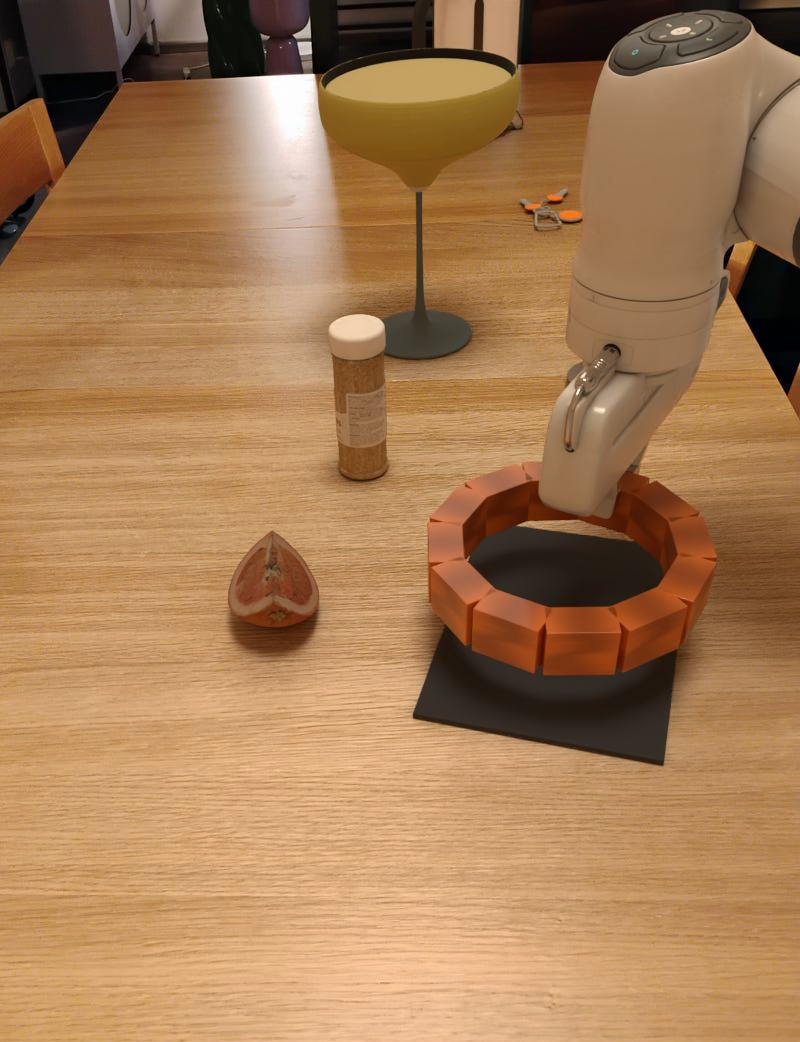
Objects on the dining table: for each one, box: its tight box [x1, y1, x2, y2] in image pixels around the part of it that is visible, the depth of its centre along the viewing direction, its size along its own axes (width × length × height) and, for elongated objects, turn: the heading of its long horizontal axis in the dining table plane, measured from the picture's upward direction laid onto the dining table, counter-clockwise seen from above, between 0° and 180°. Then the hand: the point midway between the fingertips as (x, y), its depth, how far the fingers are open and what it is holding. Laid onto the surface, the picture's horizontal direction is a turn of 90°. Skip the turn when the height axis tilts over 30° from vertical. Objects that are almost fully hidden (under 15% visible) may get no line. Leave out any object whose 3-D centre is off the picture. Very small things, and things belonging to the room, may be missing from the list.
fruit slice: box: [227, 530, 320, 628], centre depth 75 cm, size 8×7×5 cm
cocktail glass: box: [317, 47, 521, 360], centre depth 100 cm, size 18×18×25 cm
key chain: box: [518, 187, 583, 229], centre depth 130 cm, size 13×7×1 cm, turn 179°
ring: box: [426, 461, 718, 675], centre depth 69 cm, size 18×18×4 cm
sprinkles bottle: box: [327, 313, 390, 481], centre depth 86 cm, size 5×5×13 cm
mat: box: [412, 525, 678, 766], centre depth 73 cm, size 22×16×1 cm
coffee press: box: [411, 0, 525, 130], centre depth 146 cm, size 17×16×30 cm
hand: (612, 497), depth 74 cm, fingers closed on ring, 2 cm apart
